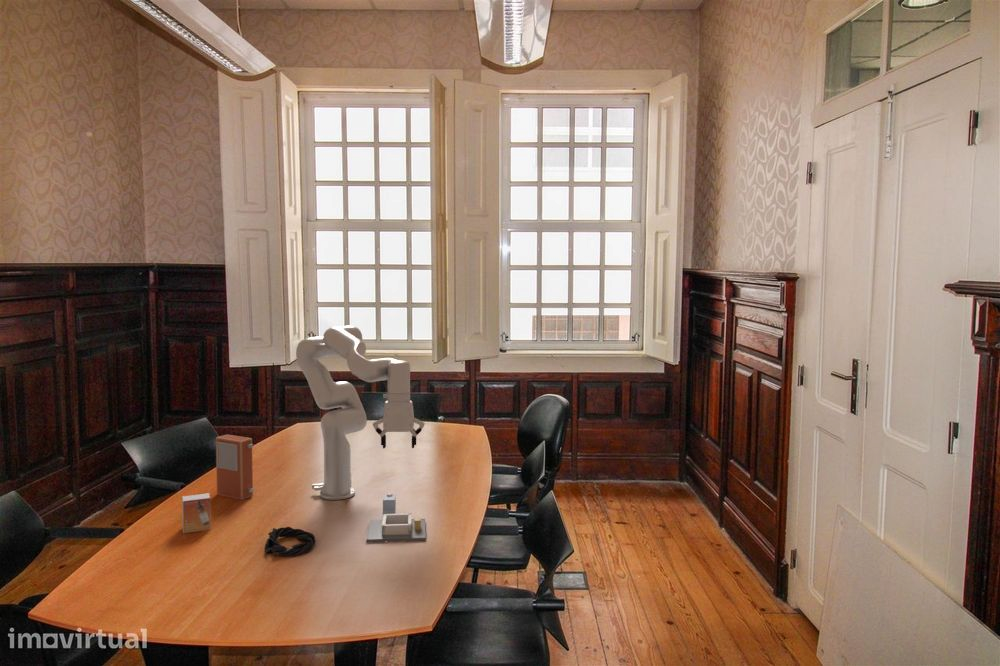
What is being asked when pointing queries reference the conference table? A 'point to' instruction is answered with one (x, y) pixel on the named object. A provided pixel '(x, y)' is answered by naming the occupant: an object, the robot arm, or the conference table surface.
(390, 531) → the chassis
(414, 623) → the conference table surface
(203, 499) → the small box
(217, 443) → the orange electrical enclosure
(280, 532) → the cable
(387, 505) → the block
